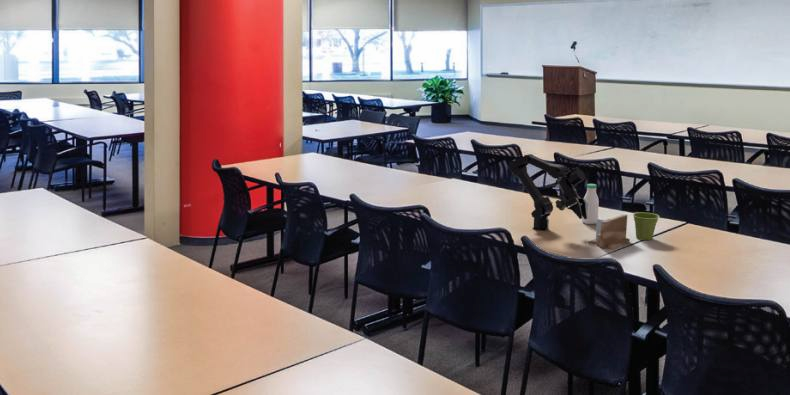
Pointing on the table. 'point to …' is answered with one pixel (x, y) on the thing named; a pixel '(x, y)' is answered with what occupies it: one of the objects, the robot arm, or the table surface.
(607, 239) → the brown angular stand
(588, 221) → the milk bottle
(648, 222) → the plant pot
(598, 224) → the pale blue beveled prism
